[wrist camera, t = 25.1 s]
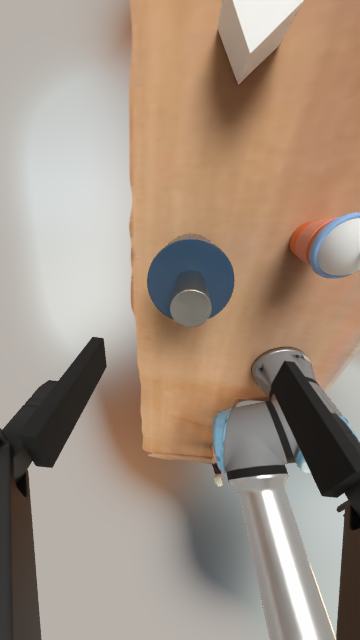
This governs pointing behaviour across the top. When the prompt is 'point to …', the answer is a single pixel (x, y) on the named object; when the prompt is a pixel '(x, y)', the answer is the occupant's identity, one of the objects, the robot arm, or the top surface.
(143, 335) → the top surface
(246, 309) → the top surface
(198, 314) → the tin lid
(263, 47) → the white cube
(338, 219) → the cup with straw
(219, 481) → the grandmother figurine
